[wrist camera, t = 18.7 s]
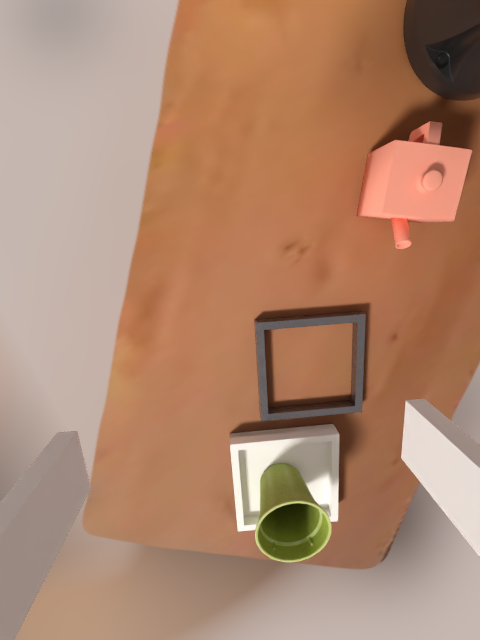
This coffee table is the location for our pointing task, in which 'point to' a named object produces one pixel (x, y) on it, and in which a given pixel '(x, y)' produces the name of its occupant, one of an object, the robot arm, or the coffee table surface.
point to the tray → (290, 448)
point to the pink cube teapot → (414, 181)
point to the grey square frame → (321, 408)
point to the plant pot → (289, 517)
